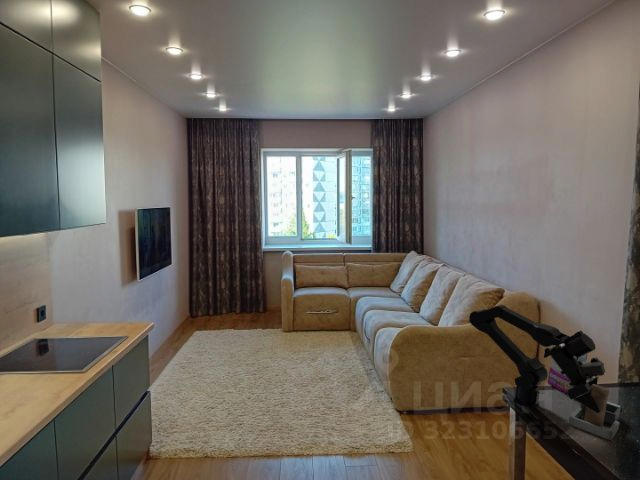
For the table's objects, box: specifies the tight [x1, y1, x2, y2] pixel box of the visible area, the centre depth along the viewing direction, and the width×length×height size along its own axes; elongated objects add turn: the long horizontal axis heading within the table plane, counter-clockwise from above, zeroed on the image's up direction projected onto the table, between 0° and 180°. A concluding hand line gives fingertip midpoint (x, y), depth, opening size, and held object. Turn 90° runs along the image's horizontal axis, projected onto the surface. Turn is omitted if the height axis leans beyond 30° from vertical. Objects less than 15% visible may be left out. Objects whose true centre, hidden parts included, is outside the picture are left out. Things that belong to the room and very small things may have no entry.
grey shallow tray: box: [567, 406, 620, 441], centre depth 148 cm, size 12×10×2 cm
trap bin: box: [579, 403, 621, 427], centre depth 155 cm, size 10×7×4 cm
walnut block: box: [583, 384, 610, 428], centre depth 147 cm, size 4×4×13 cm
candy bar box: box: [547, 343, 589, 395], centre depth 173 cm, size 11×5×16 cm, turn 21°
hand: (601, 407), depth 146 cm, fingers open, 8 cm apart
